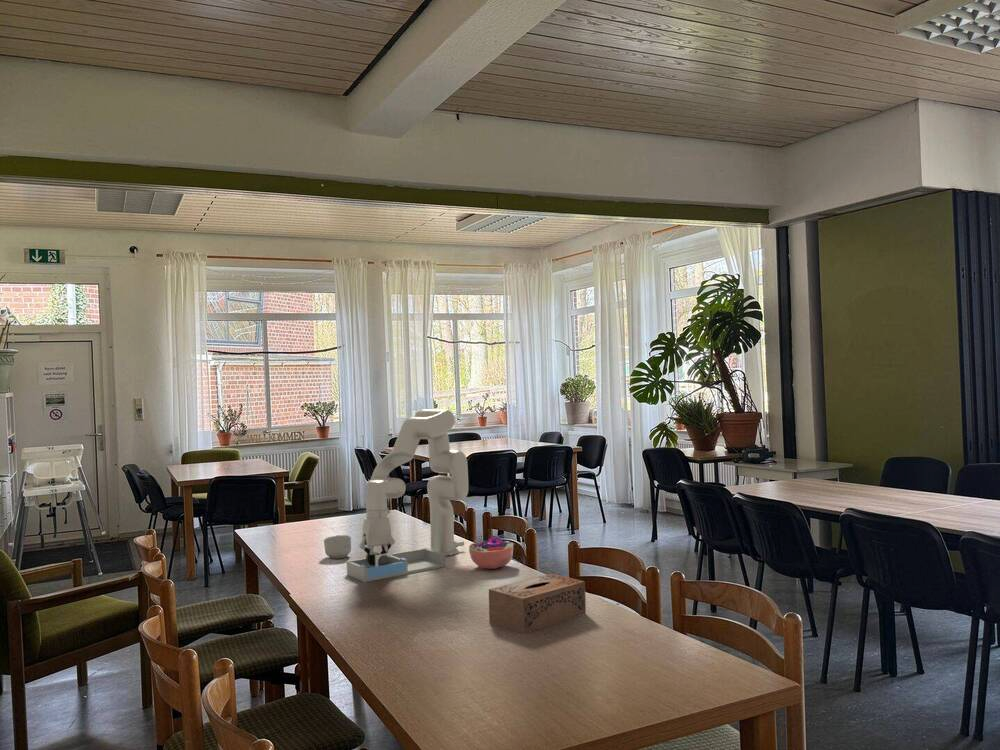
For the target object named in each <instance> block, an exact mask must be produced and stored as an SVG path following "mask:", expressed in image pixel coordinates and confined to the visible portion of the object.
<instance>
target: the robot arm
mask: <svg viewBox="0 0 1000 750" xmlns="http://www.w3.org/2000/svg"><path fill="white" fill-rule="evenodd" d="M454 424H455V416H454V413H453V412H452V411H451V410H449V409H443V408H442V409H440V408H439V409H437V408H433V409H432V408H430V409H429V408H428V409H427V408H426V409H424V408H423V409H419V410H418V411H417V412H415V414H414V417H413V416H412V417H408V418H406V419H405V420H403V422H402V426H401V427H400V429H399V432H398V435H397V437H396V440H395V443H394V445H393V448H392V450H391V451H390V452H389V453H388V454H386V455H385V456H384V457H383V458H382V459H381V460H380V461H379V462H378V464H377V465H376V466H375V468H374V469H373V472H372V475H371V477H370V480H368V481H367V482H366V485H365V498H366V499H365V501H366V503H365V505H366V509H365V510H366V512H365V514H366V517H365V518H364V519H363V525H362V530H361V531H362V532H361V533H362V534H361V542H360V543H359V545H358V547H359V548H360V549H361V550H363V551H364V552H365V553H366V555H367V554H368V563H369V565H372V566H374V555H373V551H374V548H375V547H378V546H380V548H381V551H380V554H385V553H387V554H388V552H389V550H390V548H391V547H392V546H393V545H394V544H396V540H395V539H394V537H393V536H392V528H391V522H390V518H389V516H388V514H390V513H391V510H390V509H388V499H399V498H400V497H402V496H404V495H405V492H406V489H407V488H406V487H407V486H406V483H405V481H404V480H403V479H401V478H398V477H388V476H389V474H390V473H391V472H392V471H393V470H394V469H396V468H398V467H399V466H401V465H404V464H406V463H408V462H410V461H412V460H413V459H414V456H415V454H416V452H417V448H418V447H419V444H420V441H421V440H427V442H428V453H429V454H428V457H429V459H428V460H429V466H430V467H429V468H430V469H431V471H432V472H434V473H438V474H439V473H440V474H450V475H451V476H450V475H435V476H433V477H431V478H430V479H429V480H428V482H427V485H426V490H427V496H428V501H429V513H430V515H429V516H430V525H429V526H430V548H429V549H430V550H433V551H436V552H439V553H443V554H445V557H446V556H448V555H449V556H454V555H457V554H458V553H459V549H458V547H463V546H465V542H464V541H463V540H461V541H456V540H455V533H454V532H455V530H454V529H455V528H454V527H455V525H454V523H455V522H454V515H455V514H454V507H453V504H452V503H451V501H463V500H465V499H466V497H467V496H468V494H469V469H468V468H469V466H468V459H467V455H466V454H465V453H464V452H463V451H461V450H458V449H457V450H456V449H451V448H450V436H449V435H448V432H449V431H450V430H452V428H453V426H454ZM457 552H458V553H457ZM456 553H457V554H456ZM453 554H454V555H453Z"/></svg>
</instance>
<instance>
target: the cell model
mask: <svg viewBox="0 0 1000 750" xmlns="http://www.w3.org/2000/svg"><path fill="white" fill-rule="evenodd" d="M468 548H469V549H468V550H469V556H470V559H471V561H472V562H473V563H474V564H475V565H476V566H478V567H480V568H481V569H487V570H488V569H491V570H495V569H499V568H501V567H505V566H507V565H508V564H509V563H510V562H511V560H512V559H513V555H514V543H513V542H511V541H507V540H502V539H501V537H499V536H497V535H492V536H489V537H488V540H483V541H478V542H473V543H471V544H469V546H468ZM498 567H499V568H498Z"/></svg>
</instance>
